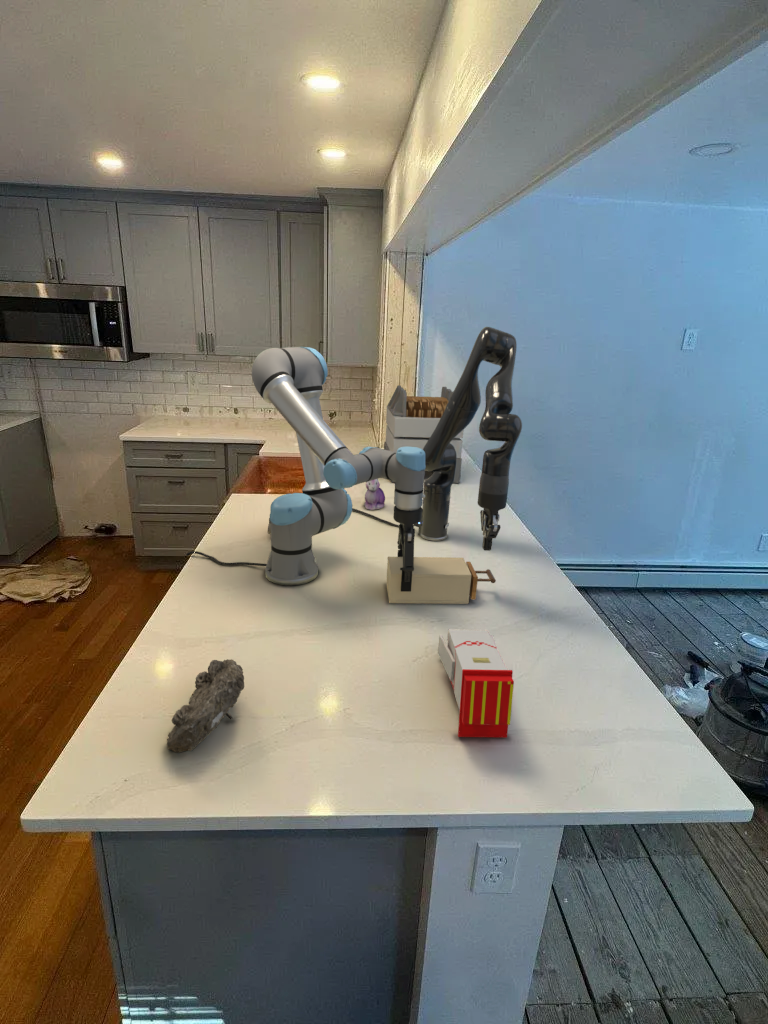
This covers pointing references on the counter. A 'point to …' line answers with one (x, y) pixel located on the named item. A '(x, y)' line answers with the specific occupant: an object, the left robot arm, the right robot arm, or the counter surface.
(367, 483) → the figurine
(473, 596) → the drawer
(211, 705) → the fossil
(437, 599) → the cabinet
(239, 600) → the counter surface
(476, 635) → the toy
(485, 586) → the counter surface
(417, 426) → the transformer
